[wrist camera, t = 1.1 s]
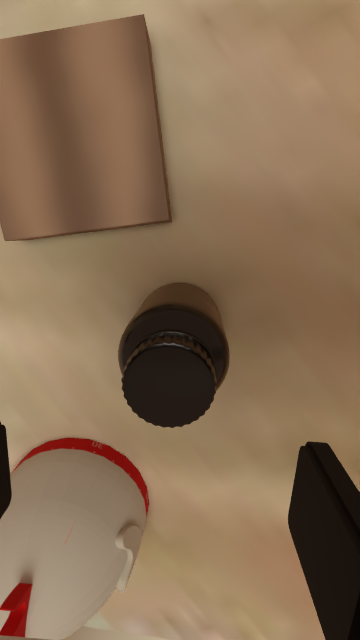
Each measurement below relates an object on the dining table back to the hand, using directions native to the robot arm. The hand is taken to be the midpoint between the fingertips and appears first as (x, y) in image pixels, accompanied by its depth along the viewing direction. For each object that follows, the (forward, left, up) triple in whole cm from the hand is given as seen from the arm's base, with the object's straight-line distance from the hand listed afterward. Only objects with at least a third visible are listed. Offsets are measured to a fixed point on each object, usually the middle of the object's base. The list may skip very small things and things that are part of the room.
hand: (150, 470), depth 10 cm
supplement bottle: (0, 0, -18) cm, 18 cm away
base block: (+8, -13, -18) cm, 24 cm away
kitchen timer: (+9, +19, -18) cm, 28 cm away
